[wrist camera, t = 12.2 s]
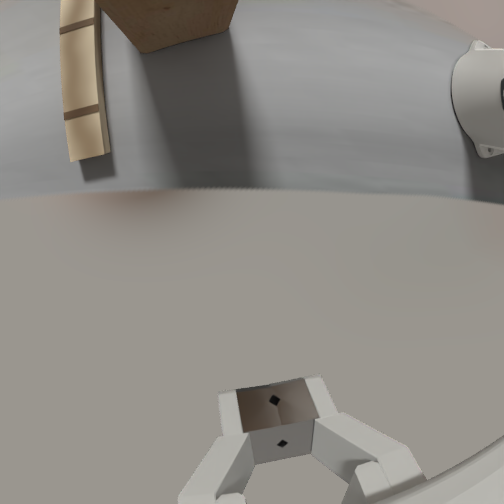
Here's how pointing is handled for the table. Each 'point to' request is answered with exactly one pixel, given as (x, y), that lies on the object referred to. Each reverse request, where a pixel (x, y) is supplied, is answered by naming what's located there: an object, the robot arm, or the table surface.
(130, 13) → the wooden block
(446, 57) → the table surface
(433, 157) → the table surface
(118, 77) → the table surface
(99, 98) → the maple board
